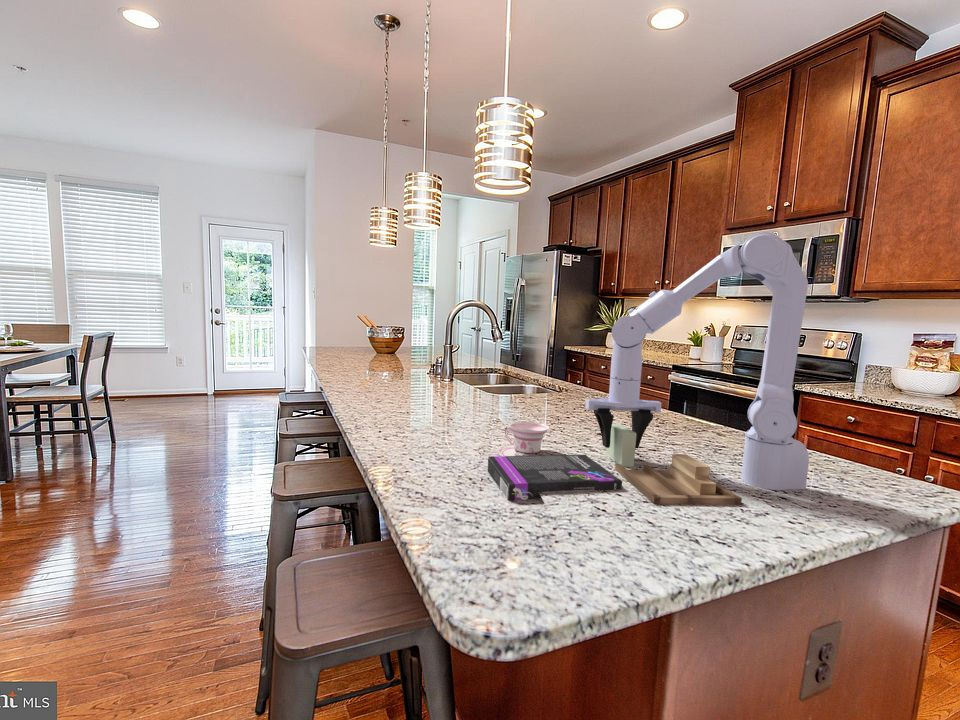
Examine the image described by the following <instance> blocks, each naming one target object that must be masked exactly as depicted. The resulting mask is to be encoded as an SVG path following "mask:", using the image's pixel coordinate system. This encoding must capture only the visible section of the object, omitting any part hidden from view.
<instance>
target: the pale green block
mask: <svg viewBox="0 0 960 720" xmlns="http://www.w3.org/2000/svg"><path fill="white" fill-rule="evenodd" d="M635 445H636V433H635V432H633V431H632V429H630V428H629V427H627V426H625V425H624V424H622V423H620V422H619V423H614V422H612V427H611V438H610V447H609V448H606V455H607V456H608V457H609V458H610V459H612V461H614V462H615V464H621V465H622V466H623V467H625V468H627V467H629V468H630V467H631V468H632V467H635V456H636V448H635Z"/></svg>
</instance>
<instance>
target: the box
mask: <svg viewBox="0 0 960 720" xmlns="http://www.w3.org/2000/svg"><path fill="white" fill-rule="evenodd" d="M487 473H488V474H489V475H490V477H491V479H492V480H493V481H494V482H495V484H496V485H497V487H498V488H499V489H500V491H501V492H502V495H504V497H505V498H506V500H507V501H526V500H527V501H528V500H543V498H542V496H541V495H540V494H545V493H548V494H549V493H551V494H552V493H569V492H570V493H571V492H592V491H593V492H594V491H597V492H598V491H616V490H617V491H618V490H619V491H620V490H622V489H623V480H622V479H620V478H618V477H616V475H614V474H613V473H612V472H610V471H608V470H607V469H606V468H605V467H603V466H602V465H600V464H599V463H597V461H594V460H593V459H591V458H590V457H589V456H588V455H587V454H551V455H549V454H548V455H547V454H545V455H539V454H538V455H516V456H499V455H498V456H496V455H495V456H488V457H487Z"/></svg>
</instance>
